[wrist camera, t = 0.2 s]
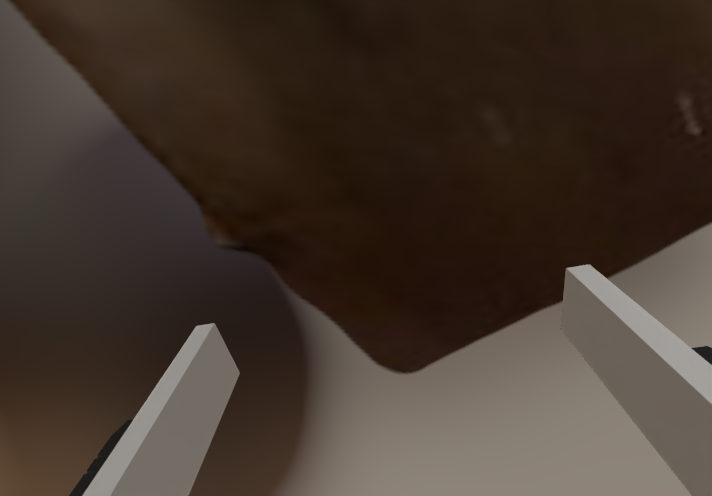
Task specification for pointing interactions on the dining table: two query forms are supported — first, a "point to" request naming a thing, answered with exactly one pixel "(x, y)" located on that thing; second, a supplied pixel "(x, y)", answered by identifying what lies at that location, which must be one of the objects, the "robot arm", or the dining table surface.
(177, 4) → the dining table surface
